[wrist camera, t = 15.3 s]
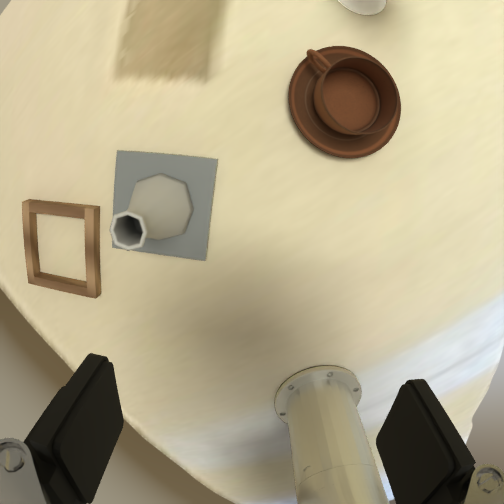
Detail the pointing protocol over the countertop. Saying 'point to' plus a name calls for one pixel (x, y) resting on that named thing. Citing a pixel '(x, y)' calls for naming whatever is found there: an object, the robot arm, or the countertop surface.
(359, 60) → the cup and saucer
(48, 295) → the countertop surface
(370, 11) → the champagne flute
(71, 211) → the square wooden frame
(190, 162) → the slate tile
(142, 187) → the flask
